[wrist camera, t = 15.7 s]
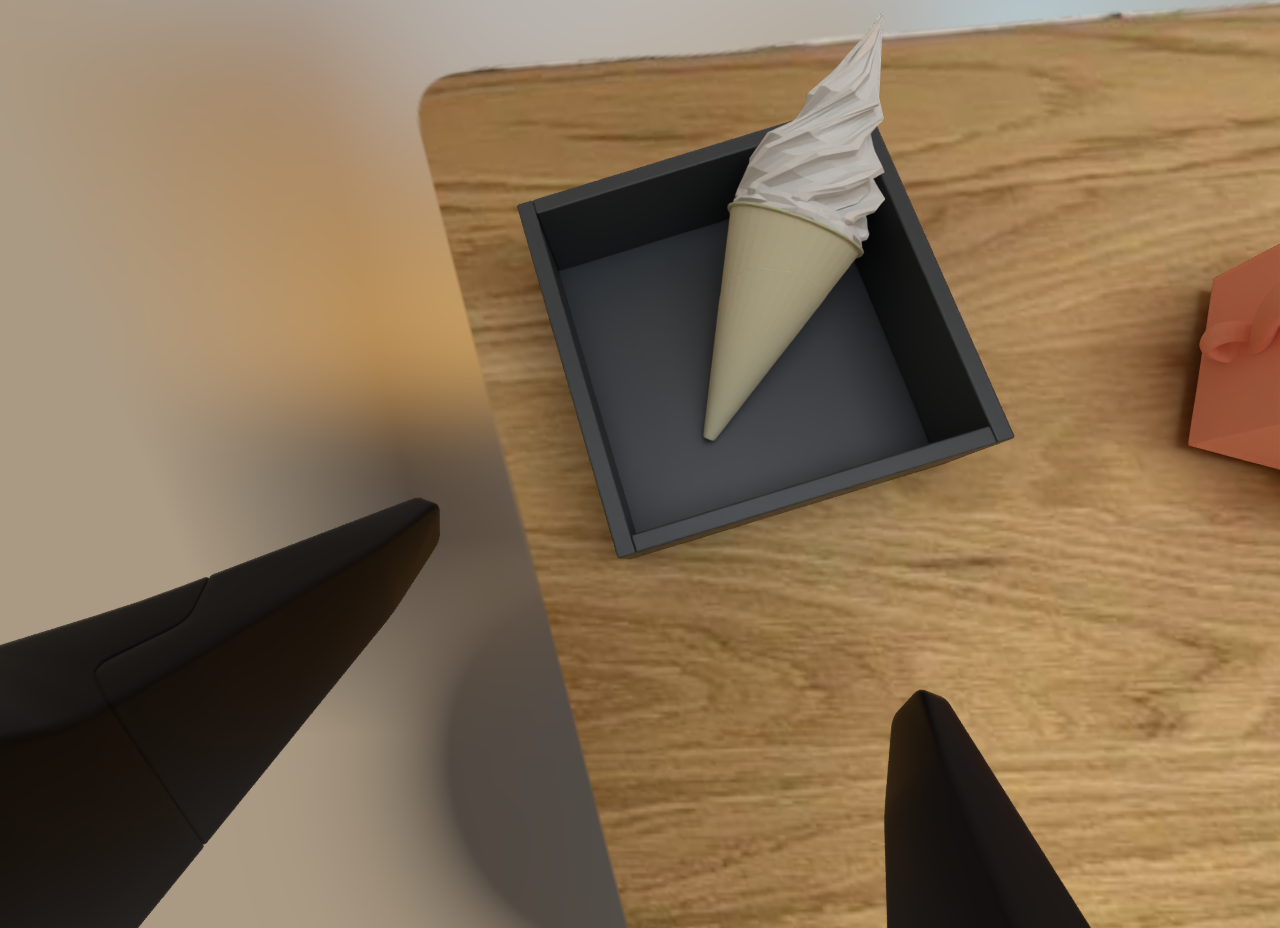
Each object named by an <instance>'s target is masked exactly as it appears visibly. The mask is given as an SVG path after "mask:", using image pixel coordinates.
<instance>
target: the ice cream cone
mask: <svg viewBox="0 0 1280 928" xmlns="http://www.w3.org/2000/svg"><path fill="white" fill-rule="evenodd" d="M883 19H884V15H882V14H881V15H880V17H879V18H878V19H877V20H876V22H875V23H874V24H873V25H872V27H871V28H870V29H869V31H868V32H867V33H866V34H865V35H864V37H863V38H862V39H861V40H860V41H859V42H858V43H857V45H856V46H855V47H854V48H853V49H852V50H851V51H850V53H849V54H848V55H847V56H846V57H845V58H844V59H843V60H842V62H841V63H840V64H839V65H838V66H837V67H836V68H835V70H834V71H833V72H832V73H830V74H829V75H828V76H827V77H826V78H825V79H824V80H822V81H821V82H820V83H819V84H818V85H817V86H816V87H814V88H813V89H812V90H811V91H810V92H809V93H807V94H806V101H805V107H804V108H803V109H802V111H801V112H800V113H799V115H798V116H797V117H796V118H795V120H794V121H792V122H790V123H787V124H785V125H783V126H781V127H779V128H776V129H774V130H772V131H770V132H768V133H767V134H766V135H765V137H764V138H763V140H762V141H761V143H760V144H759V145H758V147H757V148H756V150H755V151H754V153H753V154H752V156H751V157H750V158H749V165H748V166H747V169H746V172H745V174H744V176H743V178H742V180H741V183H740V185H739V187H738V189H737V192H736V194H735V197H736V198H735V199H734V201H733V203H730V204H729V205H728V211H729V212H730V219H729V227H728V235H727V244H726V252H725V260H724V269H723V277H722V286H721V294H720V299H719V307H718V315H717V324H716V332H715V341H714V349H713V357H712V366H711V374H710V382H709V391H708V399H707V408H706V416H705V424H704V433H703V436H704V437H705V438H707V439H709V440H712V441H714V440H715V439H716V438H717V437H718V436H719V434H720V433H721V432H722V430H723V429H724V428H725V427H726V425H727V424H728V423H729V421H730V420H731V419H732V418H733V416H734V415H735V414H736V412H737V411H738V410H739V409H740V407H741V406H742V405H743V403H744V402H745V401H746V400H747V398H748V397H749V396H750V394H751V393H752V392H753V391H754V389H755V388H756V387H757V385H758V384H759V383H760V382H761V380H762V379H763V378H764V376H765V375H766V374H767V373H768V371H769V370H770V369H771V367H772V366H773V365H774V364H775V362H776V361H777V360H778V358H779V357H780V356H781V355H782V353H783V352H784V351H785V349H786V348H787V347H788V346H789V344H790V343H791V342H792V340H793V339H794V338H795V337H796V335H797V334H798V333H799V331H800V330H801V329H802V328H803V326H804V325H805V324H806V322H807V321H808V320H809V319H810V317H811V316H812V315H813V313H814V312H815V311H816V310H817V308H818V307H819V306H820V304H821V303H822V302H823V301H824V299H825V298H826V296H827V295H828V293H829V292H830V291H831V290H832V288H833V287H834V286H835V284H836V283H837V282H838V281H839V279H840V278H841V277H842V275H843V274H844V273H845V272H846V270H847V269H848V268H849V266H850V265H851V264H852V263H853V261H854V260H855V259H856V258H859V257H861V256H862V255H863V253H864V252H863V249H862V248H861V247H862V243H861V241H864V240H867V238H868V236H869V232H868V229H867V218H866V215H869V214H871V213H874V212H875V211H876V210H877V208H878V207H879V206H880V205H881V203H882V202H883V201H884V200H885V198H884V196H883V195H882V193H881V191H880V190H879V188H878V187H877V185H876V183H875V181H874V180H873V178H875V177H877V176H879V175H881V174H882V173H884V170H883V167H882V165H881V163H880V161H879V159H878V157H877V155H876V153H875V150H874V147H873V143H872V138H871V132H872V131H873V130H874V129H875V128H876V127H877V125H878V124H879V123H881V122H882V121H883V120H884V118H883V113H882V109H881V104H880V100H879V88H880V68H881V46H882V24H883Z"/></svg>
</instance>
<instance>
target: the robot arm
mask: <svg viewBox="0 0 1280 928" xmlns="http://www.w3.org/2000/svg"><path fill="white" fill-rule="evenodd" d="M439 537H440V510H439V507H438V505H437V504H435V503H433V502H430V501H428V500H425V499H423V498H414V499H411V500H408V501H405V502H403V503H400V504H398V505H395V506H392V507H390V508H387V509H384V510H382V511H379V512H377V513H374V514H371V515H369V516H366V517H364V518H361V519H358V520H355V521H353V522H350V523H348V524H345V525H342V526H340V527H337V528H334V529H332V530H329V531H326V532H324V533H321V534H318V535H316V536H313V537H311V538H308V539H305V540H303V541H300V542H297V543H295V544H292V545H289V546H287V547H285V548H282V549H279V550H276V551H274V552H271V553H268V554H266V555H263V556H260V557H258V558H255V559H253V560H250V561H247V562H245V563H242V564H240V565H237V566H234V567H231V568H229V569H226V570H223V571H221V572H218V573H216V574H213V575H211V576H210V578H207V577H205V578H202V579H199V580H197V581H194V582H191V583H189V584H186V585H184V586H181V587H178V588H175V589H173V590H170V591H167V592H164V593H161V594H159V595H156V596H153V597H151V598H147V599H145V600H142V601H139V602H136V603H133V604H130V605H127V606H124V607H121V608H118V609H115V610H111V611H108V612H105V613H102V614H99V615H96V616H93V617H89V618H87V619H83V620H80V621H77V622H73V623H70V624H67V625H64V626H60V627H57V628H55V629H51V630H47V631H44V632H41V633H38V634H34V635H31V636H28V637H25V638H22V639H18V640H15V641H12V642H9V643H5V644H2V645H0V928H138V927H139V926H140V925H141V924H142V922H143V921H144V920H145V918H147V916H148V915H149V914H150V913H151V911H152V910H153V909H154V908H155V906H156V905H157V904H158V903H159V902H160V900H161V899H162V898H163V897H164V895H165V894H166V893H167V892H168V890H169V889H170V888H171V886H172V885H173V884H174V883H175V882H176V881H177V879H178V878H179V877H180V876H181V874H182V873H183V872H184V871H185V870H186V868H187V867H188V866H189V864H190V863H191V862H192V861H193V860H194V858H195V857H196V856H197V855H198V853H199V852H200V851H201V850H202V848H203V847H204V846H203V844H206V843H207V842H208V840H209V839H210V838H211V837H212V835H213V834H214V833H215V832H216V831H217V829H218V828H219V827H220V826H221V824H222V823H223V822H224V821H225V820H226V818H227V817H228V816H229V815H230V813H231V812H232V811H233V810H234V809H235V807H236V806H237V805H238V804H239V802H240V801H241V800H242V799H243V797H244V796H245V795H246V794H247V792H248V791H249V790H250V789H251V788H252V786H253V785H254V784H255V783H256V782H257V780H258V779H259V778H260V777H261V775H262V774H263V773H264V772H265V770H266V769H267V768H268V767H269V766H270V764H271V763H272V762H273V760H274V759H275V758H276V757H277V756H278V754H279V753H280V752H281V751H282V749H283V748H284V747H285V746H286V745H287V743H288V742H289V741H290V740H291V738H292V737H293V736H294V735H295V733H296V732H297V731H298V730H299V729H300V727H301V726H302V724H304V722H305V721H306V720H307V719H308V717H309V716H310V715H311V714H312V713H313V711H314V710H315V709H316V708H317V706H318V705H319V704H320V703H321V701H322V700H323V699H324V698H325V697H326V695H327V694H328V693H329V692H330V690H331V689H332V688H333V687H334V685H335V684H336V683H337V682H338V681H339V679H340V678H341V677H342V675H343V674H344V673H345V672H346V671H347V669H348V668H349V667H350V666H351V664H352V663H353V662H354V661H355V660H356V658H357V657H358V656H359V655H360V653H361V652H362V651H363V650H364V648H365V647H366V646H367V645H368V643H369V642H370V641H371V640H372V639H373V637H374V636H375V635H376V634H377V632H378V631H379V630H380V629H381V628H382V626H383V625H384V624H385V623H386V621H387V620H388V619H389V617H390V615H392V613H393V612H394V610H395V609H396V607H397V606H398V605H399V603H400V602H401V600H402V598H403V597H404V596H405V594H406V592H407V591H408V589H409V588H410V586H411V585H412V583H413V582H414V580H415V578H416V577H417V575H418V574H419V572H420V571H421V569H422V568H423V566H424V565H425V563H426V561H427V560H428V558H429V557H430V555H431V554H432V552H433V551H434V549H435V547H436V546H437V543H438V540H439ZM884 833H885V868H886V902H887V928H1091V927H1090V926H1089V924H1088V923H1087V921H1086V919H1085V918H1084V916H1083V915H1082V913H1081V911H1080V910H1079V908H1078V907H1077V905H1076V904H1075V902H1074V900H1073V899H1072V897H1071V896H1070V894H1069V892H1068V891H1067V889H1066V888H1065V886H1064V884H1063V883H1062V881H1061V880H1060V878H1059V877H1058V875H1057V873H1056V872H1055V870H1054V869H1053V867H1052V865H1051V864H1050V862H1049V861H1048V859H1047V858H1046V856H1045V854H1044V853H1043V851H1042V850H1041V848H1040V846H1039V845H1038V843H1037V842H1036V840H1035V839H1034V837H1033V835H1032V834H1031V832H1030V831H1029V829H1028V827H1027V826H1026V824H1025V823H1024V821H1023V820H1022V818H1021V816H1020V815H1019V813H1018V812H1017V810H1016V808H1015V807H1014V805H1013V804H1012V802H1011V801H1010V799H1009V797H1008V796H1007V794H1006V793H1005V791H1004V789H1003V788H1002V786H1001V785H1000V783H999V782H998V780H997V778H996V777H995V775H994V774H993V772H992V770H991V769H990V767H989V766H988V764H987V763H986V761H985V759H984V758H983V756H982V755H981V753H980V751H979V750H978V748H977V747H976V745H975V743H974V742H973V740H972V739H971V737H970V736H969V734H968V732H967V731H966V729H965V728H964V726H963V724H962V723H961V721H960V720H959V718H958V717H957V715H956V713H955V712H954V710H953V709H952V707H951V705H950V704H949V703H948V701H947V700H946V699H944V698H943V697H941V696H938V695H936V694H933V693H931V692H928V691H925V690H918V691H916V692H915V693H914V694H913V695H912V696H911V697H910V698H909V700H908V701H907V702H906V703H905V704H904V705H903V706H902V707H901V708H900V709H899V710H898V711H897V713H896V714H895V716H894V718H893V721H892V726H891V737H890V749H889V761H888V773H887V785H886V797H885V814H884Z"/></svg>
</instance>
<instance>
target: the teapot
mask: <svg viewBox="0 0 1280 928" xmlns="http://www.w3.org/2000/svg"><path fill="white" fill-rule="evenodd" d="M1199 345H1200V349H1201V351H1202V357H1201V364H1200V371H1199V377H1198V384H1197V390H1196V397H1195V403H1194V409H1193V416H1192V422H1191V429H1190V435H1189V442H1188V445H1189V446H1193V447H1197V448H1200V449H1204V450H1208V451H1212V452H1215V453H1219V454H1223V455H1227V456H1230V457H1234V458H1238V459H1242V460H1246V461H1249V462H1253V463H1257V464H1261V465H1265V466H1268V467H1272V468H1276V469H1280V244H1278V245H1276V246H1275V247H1273V248H1271V249H1269V250H1267V251H1265V252H1263V253H1261V254H1259V255H1257V256H1255V257H1254V258H1252V259H1250V260H1248V261H1246V262H1244V263H1242V264H1240V265H1238V266H1236V267H1235V268H1233V269H1231V270H1229V271H1227V272H1225V273H1223V274H1221V275H1219V276H1217V277H1216V278H1214V280H1213V287H1212V293H1211V299H1210V306H1209V312H1208V319H1207V326H1206V331H1205V333H1204V334H1203V336H1202V338H1201V340H1200V344H1199Z"/></svg>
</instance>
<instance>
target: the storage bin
mask: <svg viewBox="0 0 1280 928" xmlns="http://www.w3.org/2000/svg"><path fill="white" fill-rule="evenodd" d="M793 121H794V120H793ZM790 122H792V121H790ZM790 122H787V123H790ZM787 123H783V124H780V125H777V126H774V127H770V128H767V129H764V130H761V131H757V132H754V133H751V134H748V135H744V136H741V137H738V138H735V139H731V140H728V141H725V142H722V143H718V144H715V145H712V146H708V147H705V148H702V149H699V150H695V151H692V152H689V153H686V154H682V155H679V156H676V157H673V158H669V159H666V160H663V161H660V162H656V163H653V164H650V165H647V166H643V167H640V168H637V169H634V170H630V171H627V172H624V173H620V174H617V175H614V176H611V177H607V178H604V179H601V180H598V181H594V182H591V183H588V184H585V185H581V186H578V187H575V188H572V189H568V190H565V191H562V192H559V193H555V194H552V195H549V196H546V197H542V198H539V199H536V200H534V201H529V202H526V203H522V204H519V205H517V208H518V211H519V215H520V218H521V222H522V225H523V229H524V232H525V236H526V239H527V243H528V246H529V250H530V253H531V257H532V260H533V264H534V267H535V271H536V274H537V278H538V281H539V285H540V288H541V291H542V295H543V298H544V302H545V305H546V309H547V312H548V316H549V319H550V323H551V326H552V330H553V333H554V337H555V340H556V344H557V347H558V351H559V354H560V358H561V361H562V365H563V368H564V372H565V375H566V379H567V382H568V386H569V389H570V393H571V396H572V400H573V403H574V407H575V410H576V414H577V417H578V421H579V424H580V428H581V431H582V435H583V438H584V441H585V445H586V448H587V452H588V455H589V459H590V462H591V466H592V469H593V473H594V476H595V480H596V483H597V487H598V490H599V494H600V497H601V501H602V504H603V508H604V511H605V515H606V518H607V522H608V525H609V529H610V532H611V536H612V539H613V543H614V546H615V550H616V553H617V557H618V558H624V559H632V558H636V557H639V556H642V555H646V554H649V553H652V552H655V551H659V550H662V549H665V548H669V547H672V546H675V545H678V544H682V543H685V542H688V541H692V540H695V539H698V538H701V537H705V536H708V535H711V534H715V533H718V532H721V531H724V530H728V529H731V528H734V527H738V526H741V525H744V524H747V523H751V522H754V521H757V520H761V519H764V518H767V517H770V516H774V515H777V514H780V513H784V512H787V511H790V510H793V509H797V508H800V507H803V506H807V505H810V504H813V503H816V502H820V501H823V500H826V499H830V498H833V497H836V496H839V495H843V494H846V493H849V492H853V491H856V490H859V489H862V488H866V487H869V486H872V485H876V484H879V483H882V482H885V481H889V480H892V479H895V478H899V477H902V476H905V475H908V474H912V473H915V472H918V471H922V470H925V469H928V468H931V467H935V466H938V465H941V464H945V463H947V462H950V461H953V460H955V459H958V458H961V457H964V456H966V455H969V454H972V453H974V452H977V451H980V450H983V449H985V448H988V447H991V446H993V445H996V444H999V443H1002V442H1004V441H1007V440H1010V439H1012V438H1014V434H1013V432H1012V430H1011V427H1010V425H1009V423H1008V421H1007V418H1006V416H1005V414H1004V412H1003V409H1002V407H1001V405H1000V403H999V400H998V398H997V396H996V394H995V391H994V389H993V387H992V385H991V382H990V380H989V378H988V376H987V373H986V371H985V369H984V366H983V364H982V362H981V360H980V357H979V355H978V353H977V351H976V348H975V346H974V344H973V342H972V339H971V337H970V335H969V333H968V330H967V328H966V326H965V324H964V321H963V319H962V317H961V315H960V312H959V310H958V308H957V306H956V303H955V301H954V299H953V297H952V294H951V292H950V290H949V288H948V285H947V283H946V281H945V279H944V276H943V274H942V272H941V269H940V267H939V265H938V263H937V260H936V258H935V256H934V254H933V251H932V249H931V247H930V245H929V242H928V240H927V238H926V236H925V233H924V231H923V229H922V227H921V224H920V222H919V220H918V218H917V215H916V213H915V211H914V209H913V206H912V204H911V202H910V200H909V197H908V195H907V193H906V191H905V188H904V186H903V184H902V182H901V179H900V177H899V175H898V172H897V170H896V168H895V166H894V163H893V161H892V159H891V157H890V154H889V152H888V150H887V148H886V145H885V143H884V141H883V139H882V136H881V134H880V132H879V130H878V127H876V128H875V129H874V130H873V131H872V132H871V138H872V143H873V147H874V150H875V153H876V155H877V157H878V159H879V161H880V163H881V165H882V167H883V170H884V173H882V174H881V175H879V176H877V177H875V178H873V180H874V181H875V183H876V185H877V187H878V188H879V190H880V191H881V193H882V195H883V196H884V198H885V200H884V201H883V202H882V203H881V205H880V206H879V207H878V208H877V210H876V211H875V212H874V213H871V214H869V215H866V218H867V229H868V232H869V236H868V238H867V240H864V241H861V243H862V247H861V248H862V249H863V252H864V253H863V255H862V256H861V257H859V258H856V259H855V260H854V261H853V263H852V264H851V265H850V266H849V268H848V269H847V270H846V272H845V273H844V274H843V275H842V277H841V278H840V279H839V281H838V282H837V283H836V284H835V286H834V287H833V288H832V290H831V291H830V292H829V293H828V295H827V296H826V298H825V299H824V301H823V302H822V303H821V304H820V306H819V307H818V308H817V310H816V311H815V312H814V313H813V315H812V316H811V317H810V319H809V320H808V321H807V322H806V324H805V325H804V326H803V328H802V329H801V330H800V331H799V333H798V334H797V335H796V337H795V338H794V339H793V340H792V342H791V343H790V344H789V346H788V347H787V348H786V349H785V351H784V352H783V353H782V355H781V356H780V357H779V358H778V360H777V361H776V362H775V364H774V365H773V366H772V367H771V369H770V370H769V371H768V373H767V374H766V375H765V376H764V378H763V379H762V380H761V382H760V383H759V384H758V385H757V387H756V388H755V389H754V391H753V392H752V393H751V394H750V396H749V397H748V398H747V400H746V401H745V402H744V403H743V405H742V406H741V407H740V409H739V410H738V411H737V412H736V414H735V415H734V416H733V418H732V419H731V420H730V421H729V423H728V424H727V425H726V427H725V428H724V429H723V430H722V432H721V433H720V434H719V436H718V437H717V438H716V439H715V440H714V441H712V440H709V439H707V438H705V437H704V436H703V433H704V424H705V416H706V408H707V399H708V391H709V382H710V374H711V366H712V357H713V349H714V341H715V332H716V324H717V315H718V307H719V299H720V294H721V286H722V277H723V269H724V260H725V252H726V244H727V235H728V227H729V219H730V212H729V211H728V205H729V204H730V203H733V201H734V199H735V198H736V197H735V194H736V192H737V189H738V187H739V185H740V183H741V180H742V178H743V176H744V174H745V172H746V169H747V166H748V165H749V158H750V157H751V156H752V154H753V153H754V151H755V150H756V148H757V147H758V145H759V144H760V143H761V141H762V140H763V138H764V137H765V135H766V134H767V133H768V132H770V131H772V130H774V129H776V128H779V127H781V126H783V125H785V124H787Z"/></svg>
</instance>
